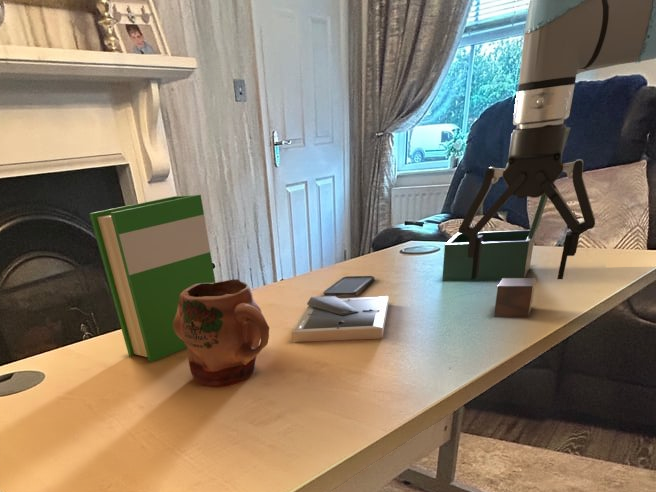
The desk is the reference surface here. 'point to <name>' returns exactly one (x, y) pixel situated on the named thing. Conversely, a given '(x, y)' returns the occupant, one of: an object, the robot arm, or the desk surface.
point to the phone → (349, 286)
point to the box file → (489, 256)
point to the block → (514, 297)
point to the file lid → (542, 203)
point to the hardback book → (153, 267)
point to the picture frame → (342, 319)
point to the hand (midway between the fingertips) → (516, 277)
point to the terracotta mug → (221, 331)
